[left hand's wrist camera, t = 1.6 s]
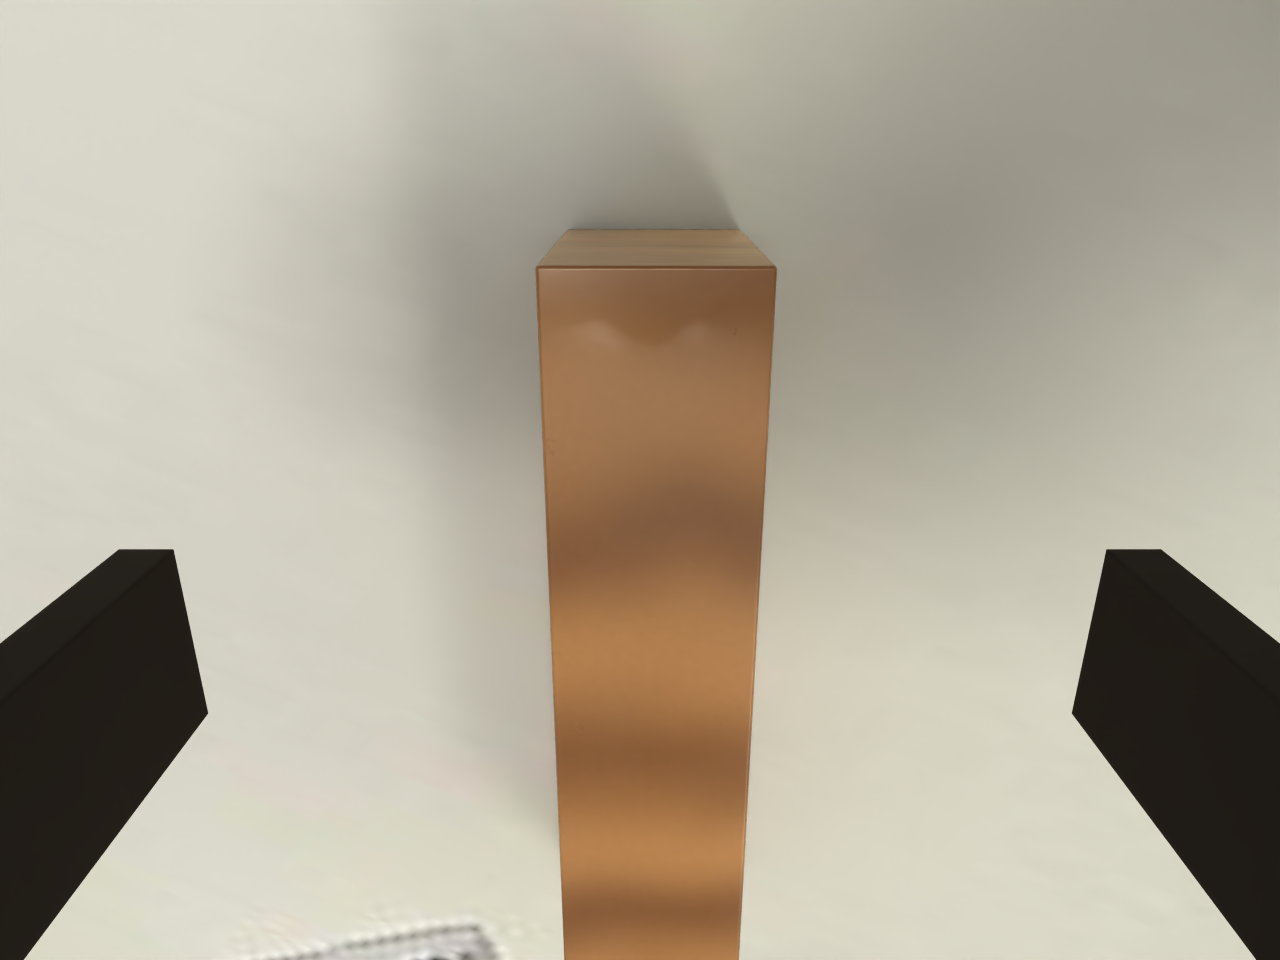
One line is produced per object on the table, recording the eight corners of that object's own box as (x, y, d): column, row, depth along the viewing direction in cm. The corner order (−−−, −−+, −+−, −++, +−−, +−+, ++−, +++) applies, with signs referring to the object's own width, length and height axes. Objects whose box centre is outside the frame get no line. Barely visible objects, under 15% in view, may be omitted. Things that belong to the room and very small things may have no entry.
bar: (567, 229, 28) (535, 265, 20) (740, 229, 28) (777, 265, 20) (585, 870, 37) (568, 1067, 30) (715, 871, 37) (733, 1068, 30)
